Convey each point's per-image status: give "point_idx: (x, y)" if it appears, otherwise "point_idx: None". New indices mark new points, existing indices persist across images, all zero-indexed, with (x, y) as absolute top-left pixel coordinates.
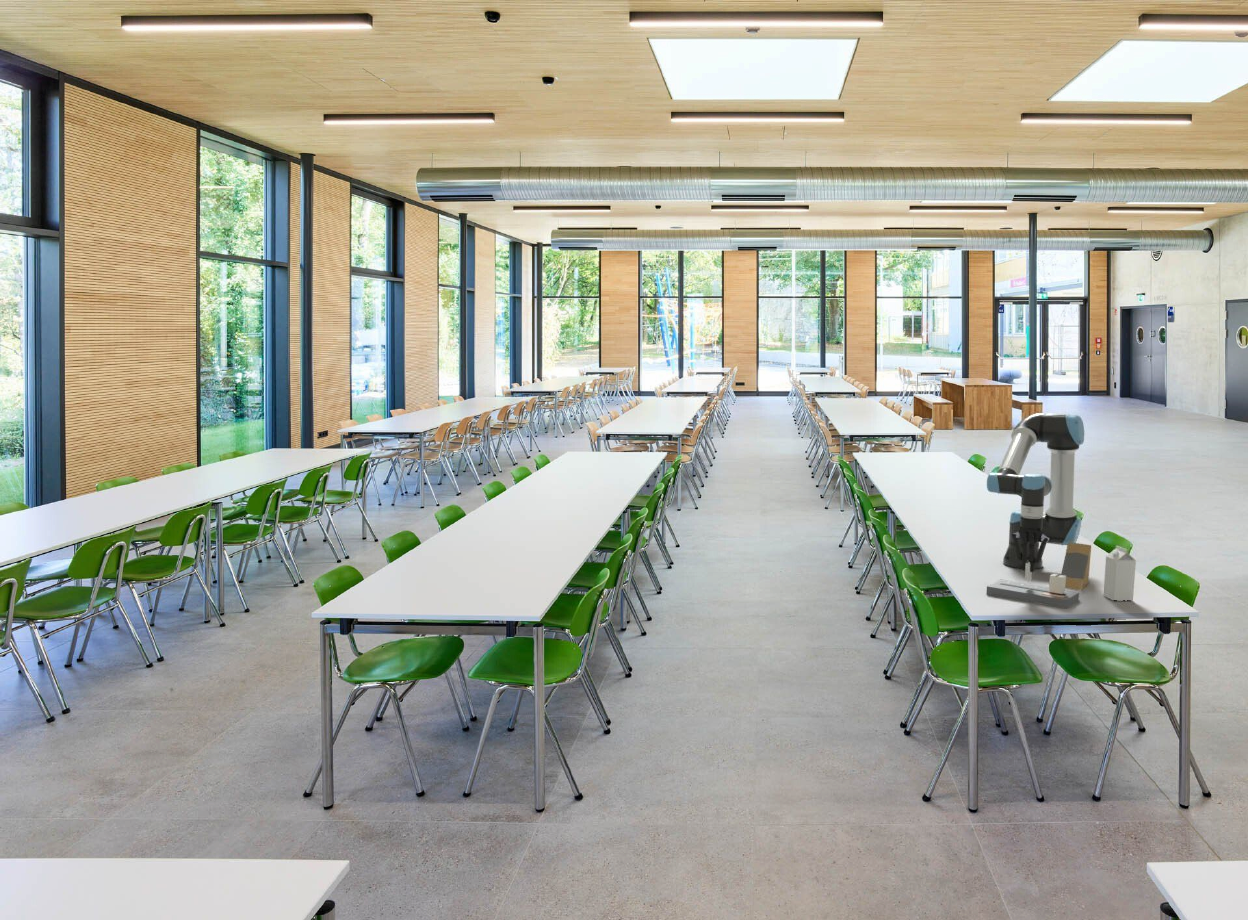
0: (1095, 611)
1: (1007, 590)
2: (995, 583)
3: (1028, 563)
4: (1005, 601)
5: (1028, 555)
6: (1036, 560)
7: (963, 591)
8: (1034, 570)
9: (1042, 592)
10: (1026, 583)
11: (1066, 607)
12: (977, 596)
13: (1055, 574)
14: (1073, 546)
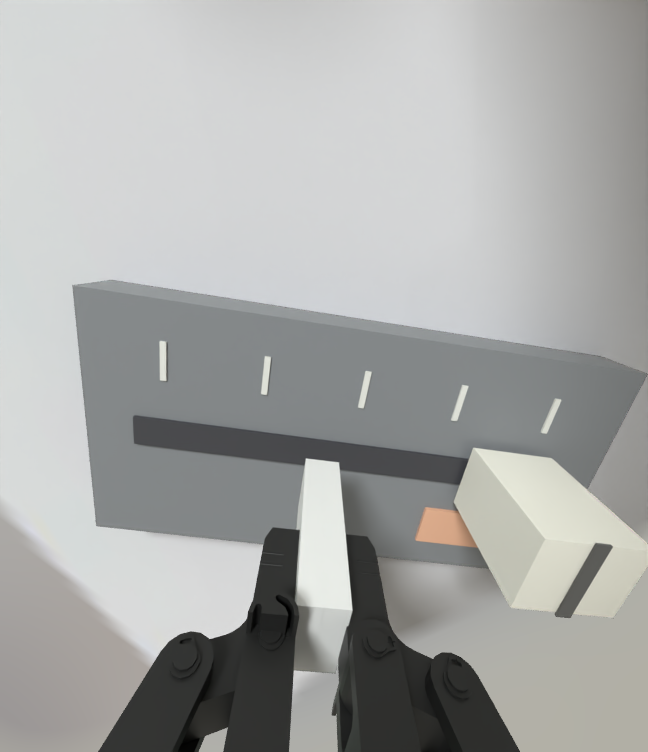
0: (644, 519)
1: (225, 536)
2: (105, 438)
3: (318, 671)
4: (248, 562)
5: (289, 736)
6: (424, 749)
7: (8, 501)
8: (373, 549)
9: (414, 497)
10: (283, 319)
11: None
12: (110, 548)
13: (564, 551)
14: None
